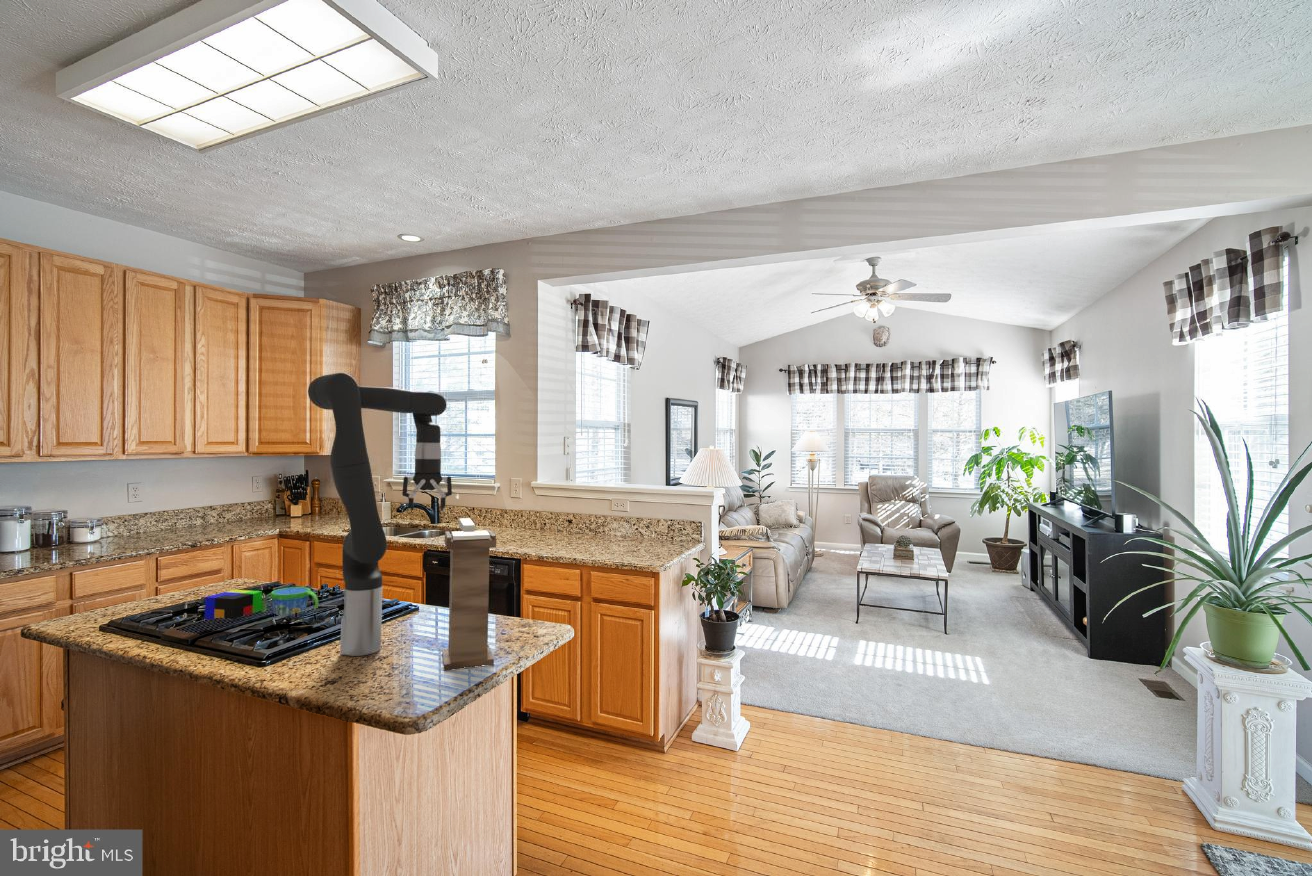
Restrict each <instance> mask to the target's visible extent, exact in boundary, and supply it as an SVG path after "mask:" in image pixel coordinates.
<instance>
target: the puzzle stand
mask: <svg viewBox="0 0 1312 876" xmlns="http://www.w3.org/2000/svg"><path fill="white" fill-rule="evenodd" d="M487 532H488V533H489V534H490V539H471V540H453V538H452V536H451V531H445V532H444V545H445V548H446V550H450V553H449V554H450V557H449V558H450V559H449V561H450V562H449V564H450V565H449V567H450V568H449V570H450V571H449V598H448V599H449V600H448V602H449V605H448V606H449V607H448V608H449V610H448V647H447V648H445V649H442V650H441V651H442V652H441V655H442V656H441V657H442V665H443V666H444V667H443V671H444V672H447V671H453V670H452V669H455V670H461V669H460V668H464V667H472V668H476V667H475V666H481V667H483V666H482V665H489V666H494V665H495V662H494V661H495V658H494V656H493V653H492V651H491V647H490V645H489V644H488V640H489V637H488V636H489V599H490V598H489V594H490V593H489V591H490V589H489V588H490V587H489V586H490V548H491V549H494V548H497V535H496V534H495V533H494V532H493V531H492V530H491V529H487ZM464 669H465V668H464Z"/></svg>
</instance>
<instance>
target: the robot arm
mask: <svg viewBox="0 0 1312 876" xmlns="http://www.w3.org/2000/svg"><path fill="white" fill-rule="evenodd" d="M307 395H308V398H309V399H310V400H309V401H311V403H312V404H313V405H315V406H316V407H317V408H319V409H323V410H327V411H328V410H330V411H332V413H333V418H334V425H335V431H334V432H335V434H334V437H333V439H334V440H333V442H332V447H331V451H330V458H329V459H330V462H329V463H330V468H331V474H332V479H333V483H334V487H335V489H336V492H337V494H338V496H339V498H340V501H341V502H342V504H343V506H344V508H345V510H346V513H347V516H348V520H349V526H350V531H348V533H347V534H345V537H344V539H343V541H342V542H343V544H342V561H341V562H342V576H343V581H344V598H343V599H344V603H343V605H344V606H343V608H344V609H343V611H344V612H343V616H342V618H341V620H340V652H339V653H340V655H341V656H345V655H346V656H349V657H359V656H361V657H362V656H367V655H371V654H374V653H377V652H379V651H380V650H381V649H382V619H383V618H382V615H383V612H382V611H383V609H382V608H383V575H382V573H381V571H380V567H379V561H381V559H383V557H384V555H385V554H386V552H387V549H388V542H387V541H388V540H387V537H386V534H385V530H384V528H383V525H382V524H383V523H382V521H381V518H380V514H379V510H378V506H377V499H376V492H375V487H374V482H373V473H372V467H371V463H370V458H369V454H368V450H367V444H366V437H365V432H364V426H363V418H362V417H363V415H362V409H365V410H366V409H367V410H375V411H376V410H377V411H384V412H392V413H399V414H400V413H401V414H412V417H413V421H414V425H415V429H416V436H415V437H416V439H415V440H416V441H415V443H416V444H415V447H414V448H415V450H414V475H413V476H407V475H405V476H403V484H402V496H403V497H406V498H407V499H408V509H409V510H410V511H412V512H413V511H414V505H415V503H414V500H415V499H414V497H415V496H416V494H417V492H419V491H435V490H436V491H437V493H438V494H439V495H440V507H439V508H440V510H441V511H443V510H444V508H446V500H447V499H446V498H447V497H451V496H452V494H453V490H452V489H453V487H452V476H450V475H448V476H442V473H441V472H442V471H441V470H442V448H441V434H442V432H441V427H440V426H439V425H438V424H437V423H434V422H433V419H432V417H437V416H440V415H442V414H443V413H444V412H445V411H446V409H447V405H448V404H447V400H446V399H445V397H444V396H443V395H442V394H439V393H438V392H432V391H430V392H429V391H414V390H408V389H404V388H397V387H388V386H387V387H385V386H362V385H358V382H357V381H356V379H355V378H354V377H353V376H352V375H350V374H348V373H346V372H336V373H330V374H325V375H321V376H319V377H316V378H315V379H313V380H312V381H311V382H310V384H309V385H308V388H307ZM412 481H413V483H414V484H415V485H416V486H415V487H414V488H413V490H412V491H410V493H409V492H408V485H409V484H411V482H412ZM442 481H443V482H444V484H446V487H447V489H446V490H447V491H446V492H444V491H443V489H442V488H441V487H440V486H439V485H440V483H442Z"/></svg>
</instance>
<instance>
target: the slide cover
mask: <svg viewBox="0 0 1312 876" xmlns="http://www.w3.org/2000/svg"><path fill="white" fill-rule="evenodd" d="M458 521H459V522H458V526H459V528H460V530H458V531H455V530H454V531H450V535H451V536H452V538H453V540H471V539H490V534H489V533H488V532H487V530H488V529H487V530H481V529H480V530H476V525H475V523H474V522H473V520H472V519H471V518H470V517H468V518H467V517H466V518H465V517H464V518H463V517H461V518H458Z"/></svg>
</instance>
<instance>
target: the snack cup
mask: <svg viewBox="0 0 1312 876" xmlns="http://www.w3.org/2000/svg"><path fill="white" fill-rule="evenodd" d="M310 596H311V598H312V599H313V601H314V607H313V608H314V609H313V611H314V610H315V609H316V608H319V598H318V596H317V594H316V593H315V592H314V591H312V590H311V588H309V587H302V586H292V587H283V588H278V589H274V590H272V591H271V592H270V593H268V594H266V595H265V596H264V598H262V606H261V609H262V612H265V611H266V610H267V609H268V608H267V601H268V598H269V597H271V600H272V608H273V615H274V614H276V615H287V614H295V613H297V612H301V611H302V610H305V609H306V610H307V605H308V602H309V598H310ZM266 612H267V611H266Z"/></svg>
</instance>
